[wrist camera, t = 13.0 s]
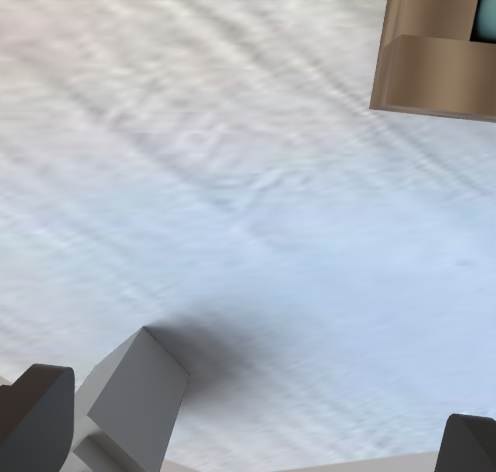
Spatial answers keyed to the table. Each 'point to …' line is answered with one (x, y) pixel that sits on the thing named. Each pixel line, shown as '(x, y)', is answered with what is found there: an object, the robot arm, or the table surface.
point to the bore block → (434, 62)
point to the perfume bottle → (127, 409)
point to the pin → (484, 22)
